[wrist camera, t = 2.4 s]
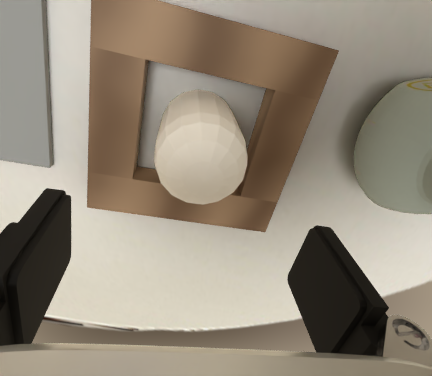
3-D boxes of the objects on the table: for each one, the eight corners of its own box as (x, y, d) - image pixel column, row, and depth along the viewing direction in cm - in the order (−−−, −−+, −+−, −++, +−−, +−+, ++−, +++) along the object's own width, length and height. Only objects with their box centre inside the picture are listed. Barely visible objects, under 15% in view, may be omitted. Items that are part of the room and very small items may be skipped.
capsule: (218, 76, 19) (234, 110, 13) (244, 144, 22) (270, 203, 15) (147, 108, 20) (126, 157, 13) (181, 170, 23) (178, 237, 16)
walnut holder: (325, 47, 19) (338, 50, 17) (260, 217, 26) (265, 232, 24) (101, -15, 16) (91, -18, 15) (94, 193, 23) (87, 207, 21)
